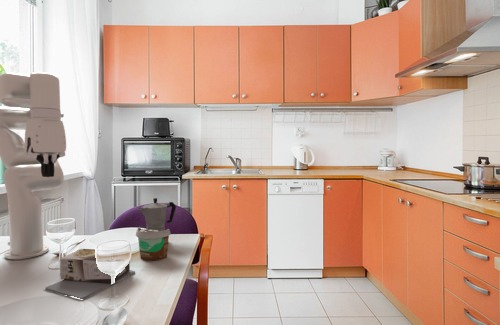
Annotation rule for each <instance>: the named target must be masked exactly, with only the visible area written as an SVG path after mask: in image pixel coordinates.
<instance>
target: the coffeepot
mask: <svg viewBox="0 0 500 325" xmlns="http://www.w3.org/2000/svg"><path fill="white" fill-rule="evenodd" d="M168 208H171V210H170V214H169V219H168V220H166V219H167V211H168ZM176 209H177V206H176V204H175V203H174V202H172V201H170V202H163V203H162V202H158V198H156V197H154V198H153V202H151V203H148V204H145V205H143V206H140V207H139V208H138V211H139V212H141V213H142V215H143V216H144V219H145V224H146V229H145V230H150V229H156V230H160V231H164V230H166V227H165V226H166V225H165V223H167V224H169V223H172V222H173V220H174V219H173V218H174V215H175V212H176Z"/></svg>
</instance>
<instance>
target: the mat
mask: <svg viewBox="0 0 500 325" xmlns="http://www.w3.org/2000/svg"><path fill="white" fill-rule="evenodd" d="M134 274H136V271H135V270H132V269H131V270H130V271H129V272H128V273H126V274H125V275H124V276H122V277H121V278H120V279H118V280H117V281H116V282H115V284H117V283H119V282H121V281H123V280H124V279H126V278H128V277H131V276H132V275H134ZM111 286H112V285H111V283H100V282H88V281H75V280H62V279H61V280H60V281H58V282H55V283H53V284H50V285H48V286H46V287H44V290H45V291H48V292H51V293H55V294H58V295H61V296H64V295H67V296H66V297H68V296H74V297H77V298H80V299H84V300H85V299H88V298H90V297H92V296H93V295H95V294H97V293H99V292H102V291H104V290H105V289H107V288H109V287H111Z"/></svg>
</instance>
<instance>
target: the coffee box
mask: <svg viewBox="0 0 500 325" xmlns="http://www.w3.org/2000/svg"><path fill="white" fill-rule="evenodd" d="M95 249H96V248H95ZM95 249H90V248H79V249H77V250H75V251H74V252H71V253H68V254H67V255H65V256H62V257H61V258H59V273H60V274H59V276H60V280H61V281H62V280H75V281H88V282H100V283H111V276H110V275H108V274H105V273H103V272H101V271H100V270H99V269H98V267H97V264H96V258H95ZM130 265H131V264H130V262H129V264H128V265H127V266H126V267H125V269H124V270H123V271H122V272H121V273H119V274H118V275H117V276H116V278H115V282H116V281H117V280H118V279H120V278H121V277H122V276H124V275H125V274H126V273H128V272H129V271H130V269H131V267H130Z"/></svg>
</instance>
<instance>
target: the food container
mask: <svg viewBox="0 0 500 325" xmlns="http://www.w3.org/2000/svg"><path fill="white" fill-rule="evenodd" d="M135 236H136V237H137V240H138V249H139V256H140V259H141V260H142V261H145V262H154V261H155V262H156V261H160V260H164V259H166V258H168V252H169V250H168V248H169V238H170V236H171V230H170V228H167V229H165V230H164V231H160V230H156V229H150V230H146V229H143V228H141V226H139V227H137V230H136V232H135Z"/></svg>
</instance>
